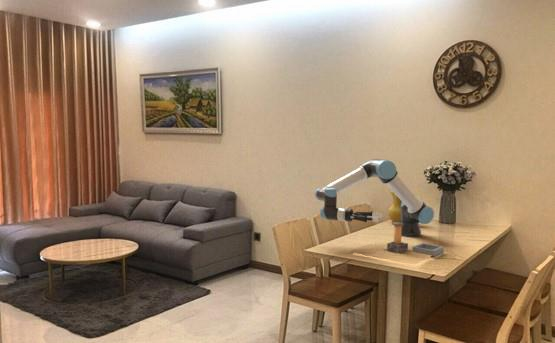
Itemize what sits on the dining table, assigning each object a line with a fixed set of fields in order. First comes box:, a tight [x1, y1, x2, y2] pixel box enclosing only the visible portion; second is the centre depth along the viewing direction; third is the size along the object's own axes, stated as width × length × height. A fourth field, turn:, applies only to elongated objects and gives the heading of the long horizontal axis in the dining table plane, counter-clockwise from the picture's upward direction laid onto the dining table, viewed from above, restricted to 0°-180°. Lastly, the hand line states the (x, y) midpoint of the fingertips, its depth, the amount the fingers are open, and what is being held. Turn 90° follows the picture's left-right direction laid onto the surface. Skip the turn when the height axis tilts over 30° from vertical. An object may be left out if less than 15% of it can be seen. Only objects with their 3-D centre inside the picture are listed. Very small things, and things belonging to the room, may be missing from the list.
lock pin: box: [392, 222, 403, 245], centre depth 265 cm, size 6×6×16 cm
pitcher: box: [387, 191, 402, 225], centre depth 350 cm, size 17×19×25 cm
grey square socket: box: [383, 240, 412, 255], centre depth 266 cm, size 12×12×6 cm
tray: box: [411, 242, 445, 259], centre depth 264 cm, size 13×13×4 cm
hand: (380, 217), depth 268 cm, fingers open, 13 cm apart
